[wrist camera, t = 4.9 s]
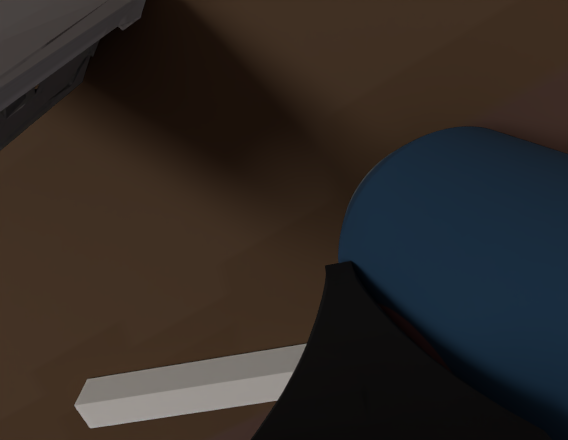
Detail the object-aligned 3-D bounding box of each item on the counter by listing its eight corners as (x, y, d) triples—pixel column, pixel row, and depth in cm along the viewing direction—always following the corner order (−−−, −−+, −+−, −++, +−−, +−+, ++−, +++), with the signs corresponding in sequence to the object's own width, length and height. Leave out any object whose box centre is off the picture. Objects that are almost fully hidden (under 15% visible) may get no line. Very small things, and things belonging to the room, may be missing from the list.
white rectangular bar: (611, 332, 18) (659, 381, 16) (107, 409, 20) (85, 462, 18) (622, 281, 17) (676, 327, 14) (81, 370, 19) (54, 422, 17)
